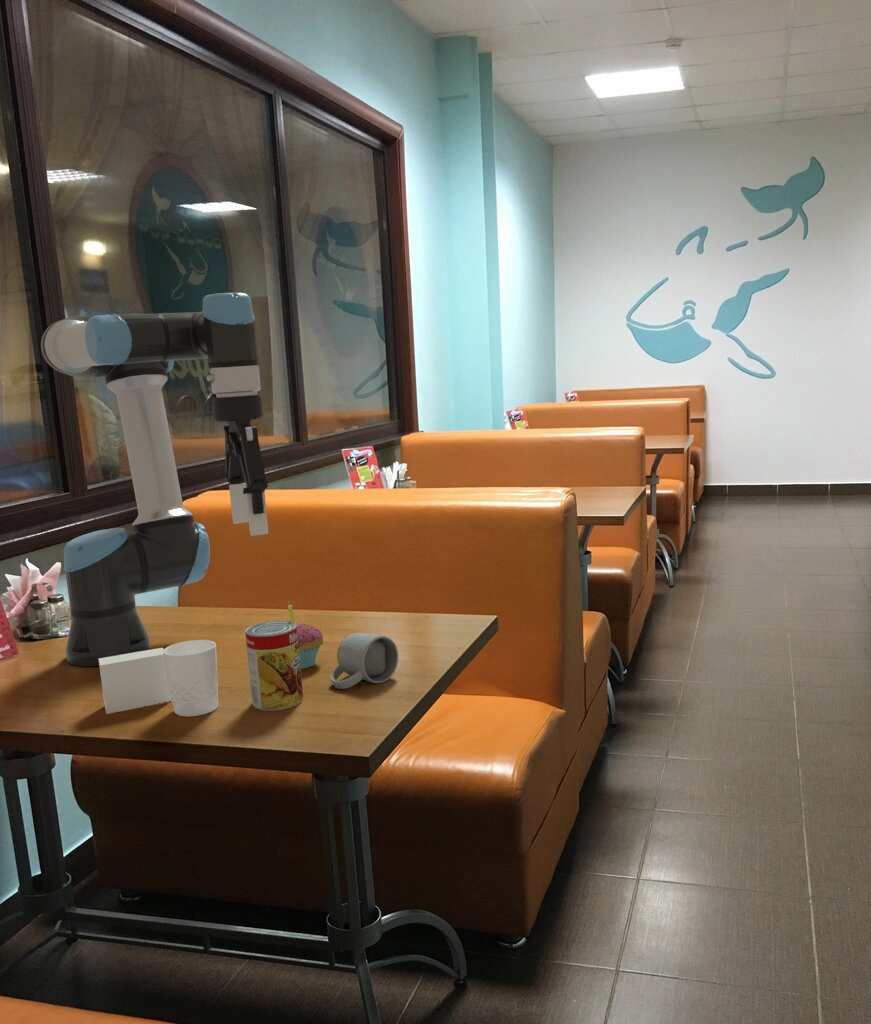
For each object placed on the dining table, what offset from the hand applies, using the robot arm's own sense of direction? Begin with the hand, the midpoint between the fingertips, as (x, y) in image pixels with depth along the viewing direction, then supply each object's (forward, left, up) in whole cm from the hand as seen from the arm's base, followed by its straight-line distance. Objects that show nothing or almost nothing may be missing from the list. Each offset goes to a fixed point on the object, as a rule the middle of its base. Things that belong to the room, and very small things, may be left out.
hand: (250, 528), depth 151 cm
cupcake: (-9, +8, -27) cm, 29 cm away
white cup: (+3, -12, -27) cm, 29 cm away
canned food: (+7, 0, -27) cm, 28 cm away
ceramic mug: (+6, +15, -27) cm, 31 cm away
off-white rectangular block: (-5, -20, -27) cm, 34 cm away
